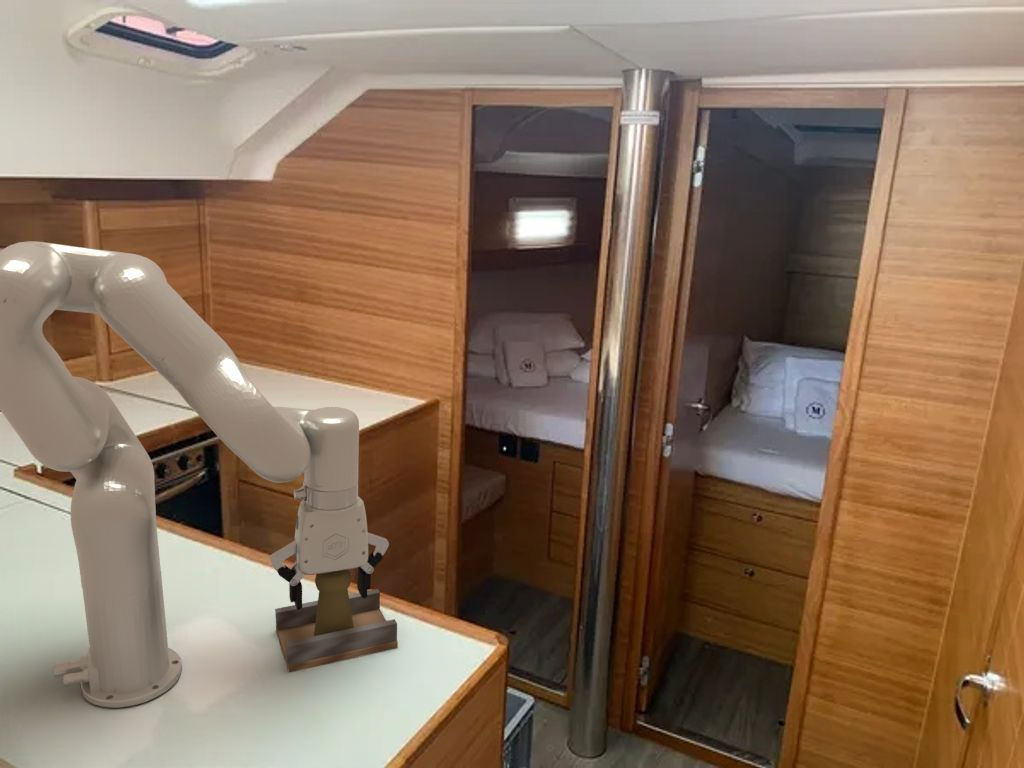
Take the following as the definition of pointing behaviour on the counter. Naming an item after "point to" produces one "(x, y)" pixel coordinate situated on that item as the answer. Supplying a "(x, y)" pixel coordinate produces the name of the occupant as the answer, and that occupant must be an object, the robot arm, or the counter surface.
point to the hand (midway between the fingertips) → (330, 599)
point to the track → (334, 633)
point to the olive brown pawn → (333, 602)
